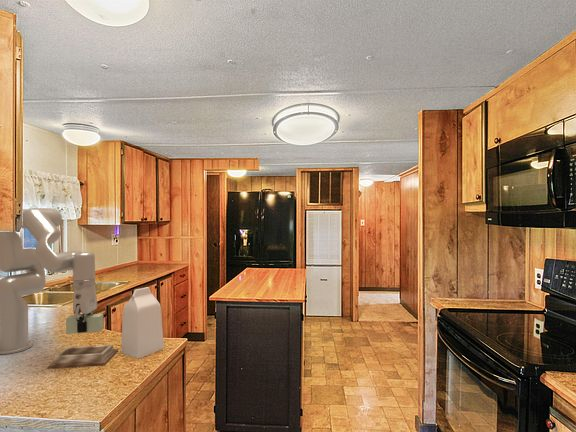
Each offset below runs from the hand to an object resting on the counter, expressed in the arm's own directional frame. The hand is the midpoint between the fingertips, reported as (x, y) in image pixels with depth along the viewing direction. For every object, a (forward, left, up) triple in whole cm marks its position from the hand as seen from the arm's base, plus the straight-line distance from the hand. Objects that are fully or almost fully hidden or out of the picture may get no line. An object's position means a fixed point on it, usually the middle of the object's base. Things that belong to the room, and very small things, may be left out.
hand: (85, 329), depth 130 cm
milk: (+20, +6, -12) cm, 24 cm away
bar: (0, 0, -1) cm, 1 cm away
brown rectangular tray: (0, 0, -12) cm, 12 cm away
